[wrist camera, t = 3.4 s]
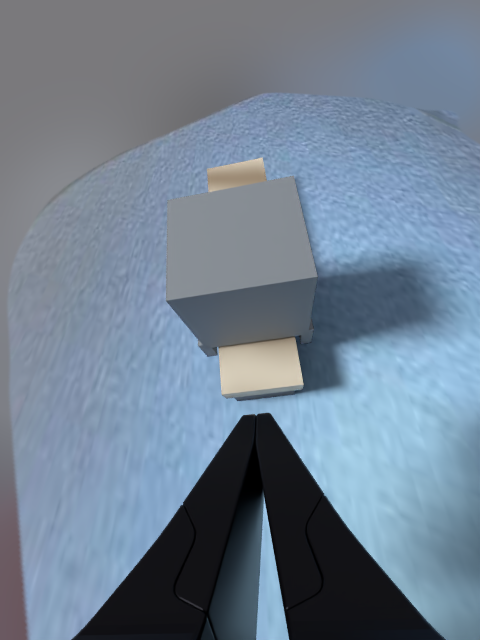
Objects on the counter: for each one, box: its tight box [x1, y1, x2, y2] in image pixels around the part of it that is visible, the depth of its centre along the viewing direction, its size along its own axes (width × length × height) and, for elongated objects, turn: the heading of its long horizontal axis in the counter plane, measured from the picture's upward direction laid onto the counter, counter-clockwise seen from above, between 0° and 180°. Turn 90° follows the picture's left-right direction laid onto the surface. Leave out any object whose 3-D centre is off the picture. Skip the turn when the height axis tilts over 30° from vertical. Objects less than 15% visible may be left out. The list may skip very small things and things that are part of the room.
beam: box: [207, 158, 304, 401], centre depth 23 cm, size 20×5×3 cm, turn 6°
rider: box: [166, 176, 318, 357], centre depth 18 cm, size 6×7×8 cm
